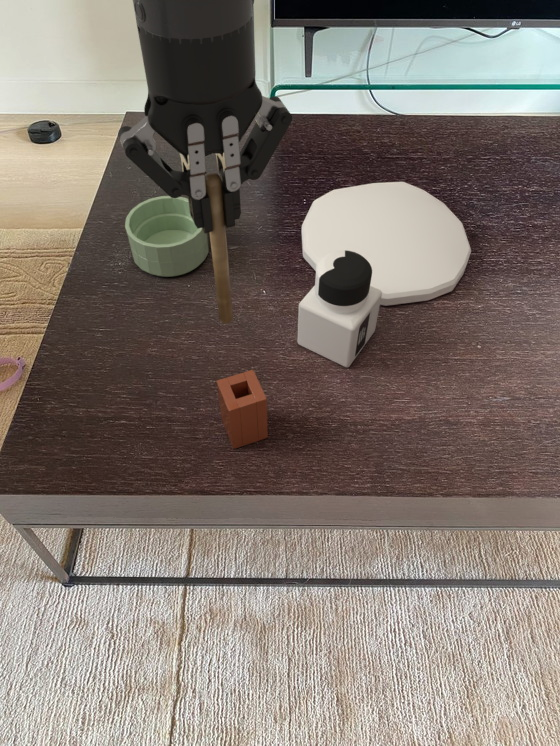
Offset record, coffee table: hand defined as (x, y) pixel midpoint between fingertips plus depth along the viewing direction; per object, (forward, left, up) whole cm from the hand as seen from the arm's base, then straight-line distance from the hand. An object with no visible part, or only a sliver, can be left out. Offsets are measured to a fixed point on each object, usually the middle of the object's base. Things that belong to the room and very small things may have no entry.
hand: (216, 223), depth 53 cm
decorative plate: (+30, +20, -28) cm, 46 cm away
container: (+16, +6, -28) cm, 33 cm away
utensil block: (0, -3, -28) cm, 28 cm away
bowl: (0, +30, -28) cm, 41 cm away
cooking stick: (0, 0, -12) cm, 12 cm away
